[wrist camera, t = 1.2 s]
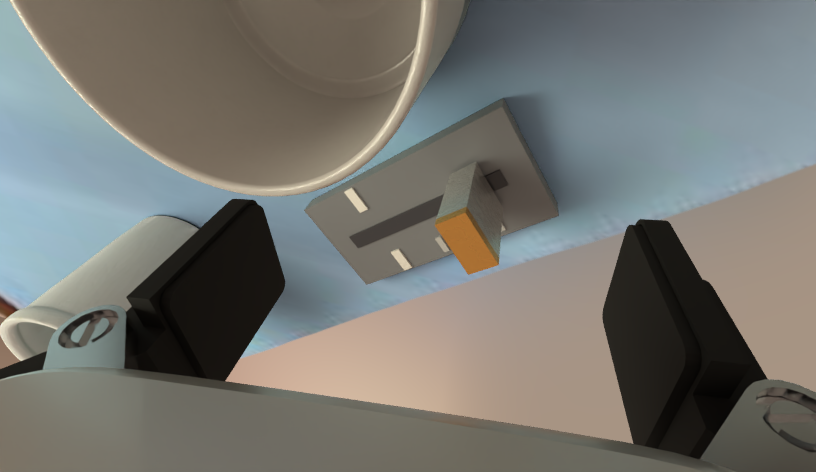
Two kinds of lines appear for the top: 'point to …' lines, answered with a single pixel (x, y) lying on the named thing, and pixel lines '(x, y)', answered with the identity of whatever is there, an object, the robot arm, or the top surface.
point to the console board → (430, 195)
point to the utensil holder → (96, 283)
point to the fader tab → (471, 219)
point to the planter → (249, 79)
